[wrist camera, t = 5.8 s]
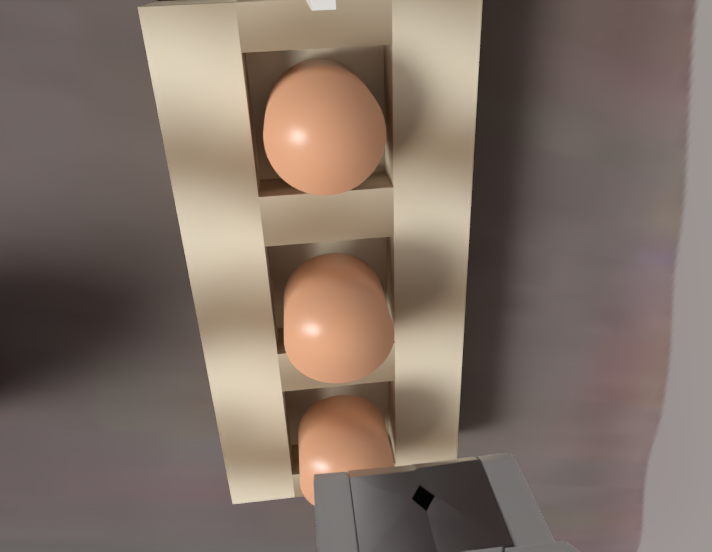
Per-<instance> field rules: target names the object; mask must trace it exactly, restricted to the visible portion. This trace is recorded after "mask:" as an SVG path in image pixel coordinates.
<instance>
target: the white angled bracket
mask: <svg viewBox="0 0 712 552" xmlns="http://www.w3.org/2000/svg"><path fill="white" fill-rule="evenodd" d="M306 2H307V4H308V5H309V7H310V9H311V10H312V11H317V10H336V0H306Z"/></svg>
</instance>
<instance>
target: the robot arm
mask: <svg viewBox="0 0 712 552" xmlns="http://www.w3.org/2000/svg"><path fill="white" fill-rule="evenodd" d="M313 484H314V501H315V519H316V537H317V552H580V551H579V550H577V549H576V548H575V547H573V546H572V545H570V544H569V543H568V542H566V541H557V542H555V541H554V539H553V537H552V534H551V532H550V530H549V528H548V526H547V524H546V522H545V520H544V518H543V516H542V514H541V512H540V509H539V507H538V505H537V503H536V501H535V499H534V497H533V495H532V493H531V491H530V489H529V487H528V484H527V482H526V480H525V478H524V476H523V474H522V472H521V470H520V468H519V466H518V464H517V462H516V459H515V457H514V456H513V455H512V454H510V453H509V452H507V453H499V454H491V455H483V456H477V457H467V458H459V459H451V460H443V461H435V462H427V463H419V464H412V465H406V466H395V467H384V468H372V469H361V470H350V471H348V472H336V473H324V474H314V483H313Z"/></svg>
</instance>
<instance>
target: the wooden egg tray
mask: <svg viewBox="0 0 712 552" xmlns="http://www.w3.org/2000/svg"><path fill="white" fill-rule="evenodd" d="M482 1H483V0H336V10H317V11H312V10H311V9H310V7H309V5H308V4H307V2H306V0H174V1H155V2H152V3H149V4H146V5H143V6H140V7H138V11H139V16H140V22H141V27H142V32H143V37H144V43H145V48H146V53H147V58H148V64H149V69H150V74H151V79H152V84H153V90H154V95H155V100H156V105H157V111H158V116H159V121H160V126H161V132H162V137H163V142H164V147H165V153H166V158H167V163H168V168H169V173H170V179H171V184H172V189H173V194H174V200H175V205H176V210H177V215H178V221H179V226H180V231H181V236H182V241H183V247H184V252H185V257H186V262H187V268H188V273H189V278H190V283H191V289H192V294H193V299H194V304H195V309H196V315H197V320H198V325H199V330H200V336H201V341H202V346H203V351H204V357H205V362H206V367H207V372H208V378H209V383H210V388H211V393H212V398H213V404H214V409H215V414H216V419H217V425H218V430H219V435H220V440H221V446H222V451H223V456H224V461H225V466H226V472H227V477H228V482H229V487H230V493H231V498H232V503H233V504H238V503H247V502H256V501H265V500H274V499H283V498H292V497H300V496H304V495H303V493H302V490H301V487H300V471H299V441H298V427H299V423H300V420H301V418H302V416H303V415H304V413H305V412H306V411H307V410H308V409H309V408H310V407H311V406H312V405H314V404H315V403H317V402H319V401H321V400H323V399H325V398H328V397H332V396H337V395H354V396H358V397H362V398H364V399H367V400H369V401H370V402H372V403H373V404H374V405H376V406H377V407H378V408H379V410H380V411H381V413H382V415H383V417H384V421H385V426H386V430H387V435H388V439H389V444H390V448H391V453H392V457H393V462H394V466H406V465H412V464H419V463H427V462H435V461H443V460H451V459H457V444H458V426H459V409H460V391H461V373H462V356H463V338H464V320H465V302H466V285H467V267H468V249H469V231H470V214H471V196H472V178H473V160H474V143H475V125H476V107H477V90H478V72H479V54H480V36H481V19H482ZM312 59H327V60H332V61H336V62H339V63H341V64H343V65H345V66H347V67H349V68H350V69H352V70H353V71H354V72H355V73H356V74H357V75H358V76H359V77H360V78H361V79H362V80H363V82H364V83H365V85H366V86H367V87H368V89H369V90H370V92H371V93H372V95H373V96H374V98H375V99H376V101H377V102H378V104H379V106H380V108H381V110H382V113H383V116H384V119H385V124H386V144H385V149H384V152H383V155H382V158H381V160H380V162H379V164H378V166H377V167H376V169H375V170H374V171H373V173H372V174H371V175H370V176H369V177H368V178H367V179H366V180H365V181H364V182H362V183H361V184H360V185H358V186H357V187H355V188H353V189H351V190H349V191H346V192H344V193H340V194H336V195H313V194H309V193H305V192H303V191H300V190H298V189H296V188H294V187H292V186H291V185H289V184H288V183H287V182H285V181H284V180H283V179H282V178H281V177H280V176H279V175H278V174H277V172H276V171H275V170H274V168H273V167H272V165H271V163H270V161H269V159H268V157H267V154H266V151H265V147H264V141H263V129H264V119H265V110H266V103H267V99H268V96H269V93H270V90H271V89H272V87H273V85H274V83H275V82H276V81H277V79H278V78H279V77H280V76H281V75H282V74H283V73H284V72H285V71H286V70H288V69H289V68H291V67H292V66H294V65H296V64H298V63H300V62H303V61H307V60H312ZM328 253H342V254H348V255H351V256H354V257H357V258H359V259H361V260H363V261H364V262H365V263H367V264H368V265H369V266H370V267H371V268H372V269H373V270H374V271H375V273H376V274H377V276H378V278H379V280H380V283H381V286H382V289H383V292H384V296H385V299H386V302H387V306H388V309H389V312H390V315H391V319H392V322H393V326H394V342H393V346H392V349H391V352H390V353H389V355H388V357H387V358H386V360H385V361H384V362H383V363H382V365H381V366H380V367H379V368H377V369H376V370H375V371H374V372H372V373H371V374H369V375H367V376H365V377H363V378H361V379H358V380H355V381H351V382H346V383H325V382H320V381H317V380H314V379H312V378H309V377H307V376H306V375H304V374H303V373H301V372H300V371H299V370H297V369H296V368H295V367H294V365H293V364H292V363H291V361H290V360H289V358H288V356H287V354H286V351H285V346H284V290H285V286H286V284H287V281H288V279H289V278H290V276H291V274H292V273H293V272H294V271H295V269H297V268H298V267H299V266H300V265H301V264H302V263H304V262H305V261H307V260H309V259H311V258H313V257H316V256H319V255H322V254H328Z"/></svg>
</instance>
